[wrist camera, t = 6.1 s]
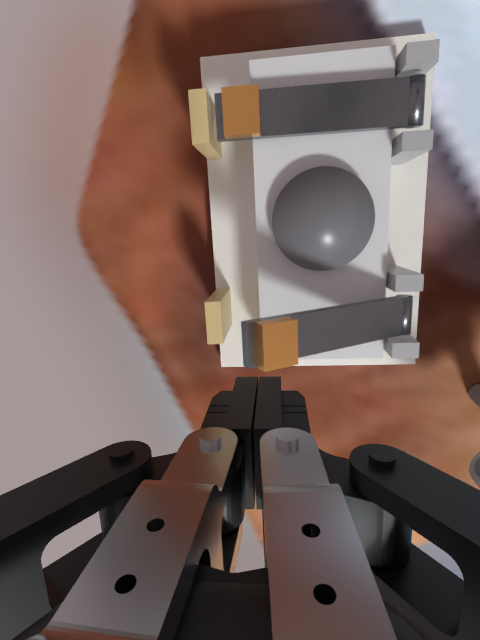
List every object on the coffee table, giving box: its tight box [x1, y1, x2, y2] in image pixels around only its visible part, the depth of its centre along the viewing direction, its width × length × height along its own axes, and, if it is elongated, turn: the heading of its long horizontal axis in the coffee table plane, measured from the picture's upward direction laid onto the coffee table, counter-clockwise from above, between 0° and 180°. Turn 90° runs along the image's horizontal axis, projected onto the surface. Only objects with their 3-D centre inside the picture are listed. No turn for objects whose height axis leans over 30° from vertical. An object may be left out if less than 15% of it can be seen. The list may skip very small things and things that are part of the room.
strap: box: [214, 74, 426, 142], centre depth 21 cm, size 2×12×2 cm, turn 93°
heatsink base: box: [188, 32, 440, 367], centre depth 25 cm, size 22×15×6 cm
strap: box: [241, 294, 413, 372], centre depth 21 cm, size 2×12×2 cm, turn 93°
